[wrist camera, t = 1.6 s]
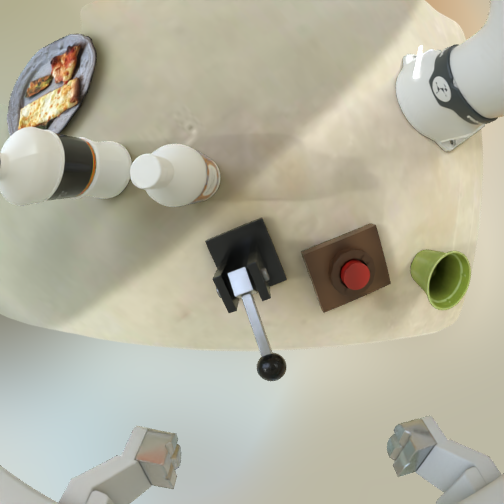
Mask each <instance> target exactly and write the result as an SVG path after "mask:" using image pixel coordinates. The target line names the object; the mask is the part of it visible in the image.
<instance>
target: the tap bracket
mask: <svg viewBox="0 0 504 504" xmlns="http://www.w3.org/2000/svg"><path fill="white" fill-rule="evenodd" d="M205 242H206V244H207V247H208V249H209V251H210V253H211V256H212V258H213V260H214V262H215V264H216V267H217V271H216V273H215V275H214V277H213V281H214V283H215V285H216V290H217V293H218V295H219V297H220V298H222V300H223V302H224V304H225V306H226V308H227V310H228V312H229V313H231V312H234V311H237V307H238V301H239V298H237V297H235V296H234V293H233V290H232V287H231V284H230V280H229V277H228V274H227V273H230V272H232V271H235V270H237V269H240V268H242V267H246V268H248V269H249V271H250V274H251V276H252V278H253V281H254V283H255V286H256V289H257V291H258V292H259V295H260V297H261V299H262V301H264V300H267V299H270V298H271V295H270V286H272V285H275V284H277V283H280V282H282V281H285V280H287V278H286V276H285V273H284V270H283V268H282V265H281V263H280V260H279V258H278V255H277V253H276V250H275V248H274V245H273V243H272V240H271V238H270V236H269V233H268V231H267V228H266V226H265V223H264V221H263V218H262V217H261V218H259V219H256V220H254V221H251V222H249V223H247V224H244V225H242V226H239V227H237V228H234V229H232V230H229V231H227V232H225V233H222V234H220V235H217V236H215V237H213V238H210V239H208V240H206V241H205Z"/></svg>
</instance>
